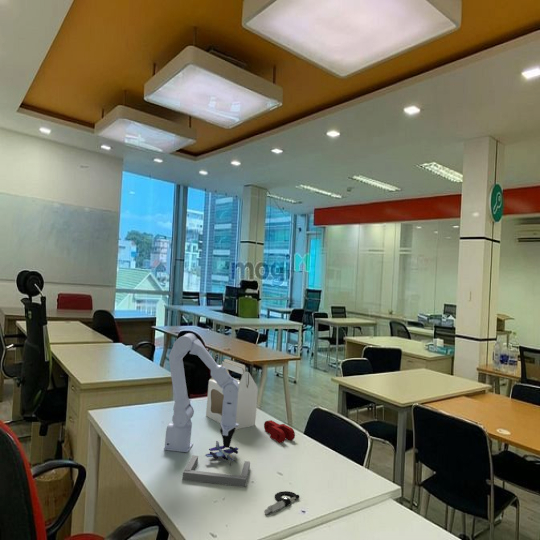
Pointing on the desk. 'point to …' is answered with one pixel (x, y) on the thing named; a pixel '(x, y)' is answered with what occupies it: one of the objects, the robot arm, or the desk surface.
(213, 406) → the gable box
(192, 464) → the cradle
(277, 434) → the mechanical linkage
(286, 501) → the micrometer
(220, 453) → the toy airplane
